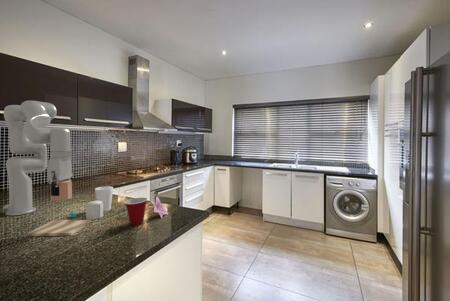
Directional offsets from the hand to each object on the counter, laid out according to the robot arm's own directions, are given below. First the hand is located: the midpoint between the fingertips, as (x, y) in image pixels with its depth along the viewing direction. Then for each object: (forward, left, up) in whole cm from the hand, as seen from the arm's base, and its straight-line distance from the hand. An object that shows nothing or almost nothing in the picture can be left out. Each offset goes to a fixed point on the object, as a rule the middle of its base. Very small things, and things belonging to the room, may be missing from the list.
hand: (61, 193), depth 100 cm
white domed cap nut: (+7, +15, -16) cm, 23 cm away
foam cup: (+6, +28, -17) cm, 33 cm away
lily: (+40, +16, -17) cm, 46 cm away
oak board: (0, 0, -16) cm, 16 cm away
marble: (-4, +15, -15) cm, 22 cm away
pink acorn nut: (0, 0, -2) cm, 2 cm away
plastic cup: (+32, +5, -17) cm, 36 cm away
